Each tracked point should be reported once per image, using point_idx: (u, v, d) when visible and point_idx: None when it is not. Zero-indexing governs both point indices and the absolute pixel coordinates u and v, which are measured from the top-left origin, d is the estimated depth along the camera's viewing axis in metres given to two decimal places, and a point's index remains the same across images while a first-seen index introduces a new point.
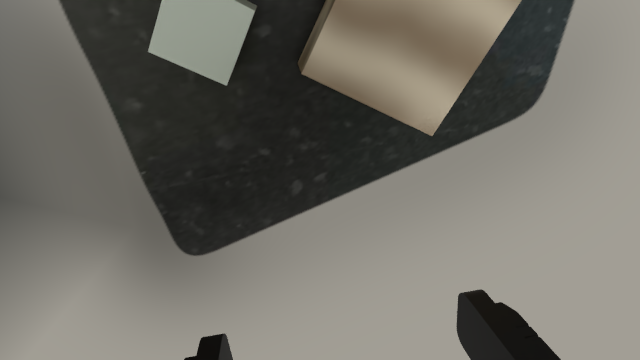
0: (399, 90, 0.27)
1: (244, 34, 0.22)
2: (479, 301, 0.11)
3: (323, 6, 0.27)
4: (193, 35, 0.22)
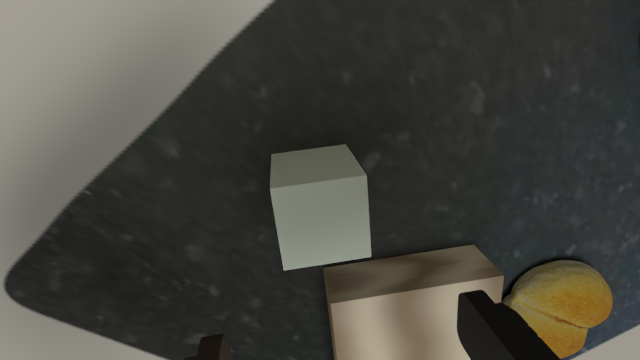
0: None
1: (344, 259, 0.20)
2: (479, 301, 0.11)
3: (383, 260, 0.27)
4: (314, 220, 0.19)
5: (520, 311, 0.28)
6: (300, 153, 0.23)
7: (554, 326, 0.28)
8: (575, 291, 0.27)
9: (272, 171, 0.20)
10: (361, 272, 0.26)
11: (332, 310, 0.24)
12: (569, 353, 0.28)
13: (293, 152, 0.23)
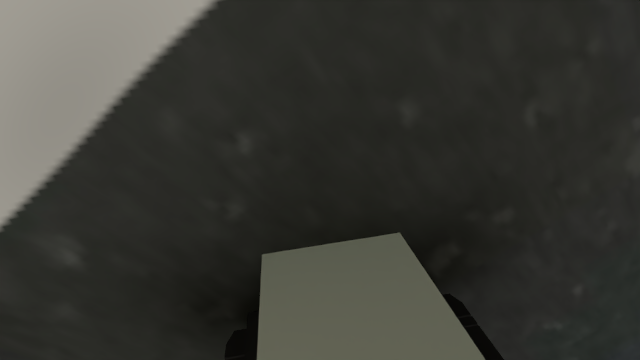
0: None
1: None
2: None
3: None
4: None
5: None
6: (317, 257, 0.12)
7: None
8: None
9: (262, 325, 0.09)
10: None
11: None
12: None
13: (303, 252, 0.12)
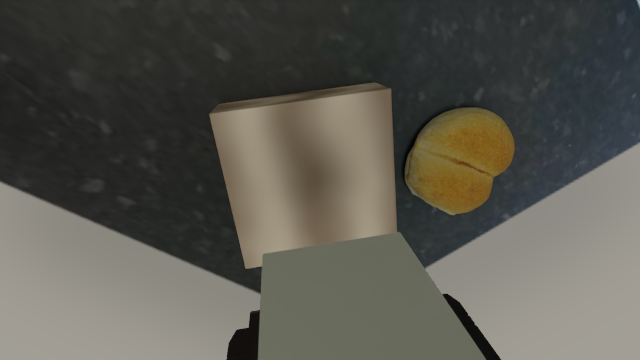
0: (261, 210, 0.26)
1: None
2: None
3: (280, 95, 0.26)
4: None
5: (420, 158, 0.28)
6: (318, 257, 0.12)
7: (453, 168, 0.27)
8: (470, 128, 0.26)
9: (263, 325, 0.09)
10: (253, 101, 0.25)
11: (212, 122, 0.23)
12: (471, 198, 0.28)
13: (304, 252, 0.12)
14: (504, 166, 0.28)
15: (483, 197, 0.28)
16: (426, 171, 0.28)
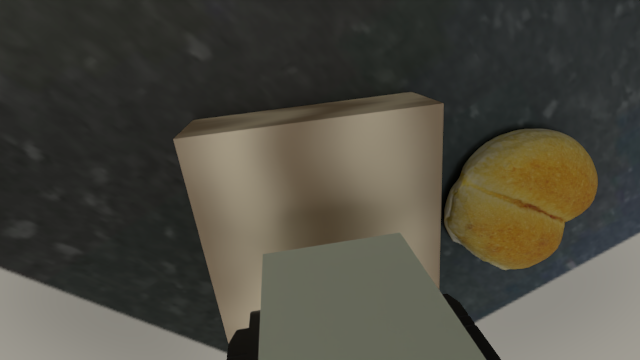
0: (251, 273, 0.18)
1: None
2: None
3: (280, 109, 0.19)
4: None
5: (469, 197, 0.20)
6: (318, 257, 0.12)
7: (516, 214, 0.20)
8: (544, 159, 0.19)
9: (263, 326, 0.09)
10: (242, 118, 0.18)
11: (178, 151, 0.15)
12: (538, 254, 0.20)
13: (304, 252, 0.12)
14: (584, 210, 0.20)
15: (553, 251, 0.21)
16: (479, 216, 0.20)
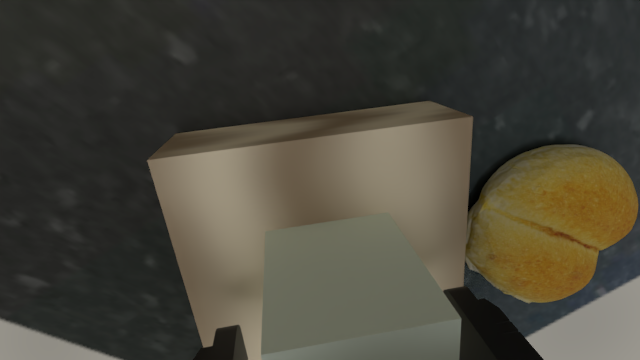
0: (243, 314, 0.15)
1: None
2: (462, 297, 0.11)
3: (278, 121, 0.16)
4: None
5: (491, 223, 0.18)
6: (314, 233, 0.13)
7: (546, 243, 0.17)
8: (580, 182, 0.16)
9: (266, 286, 0.11)
10: (232, 132, 0.15)
11: (154, 175, 0.13)
12: (570, 288, 0.18)
13: (302, 229, 0.14)
14: (622, 237, 0.18)
15: (586, 284, 0.18)
16: (502, 245, 0.17)
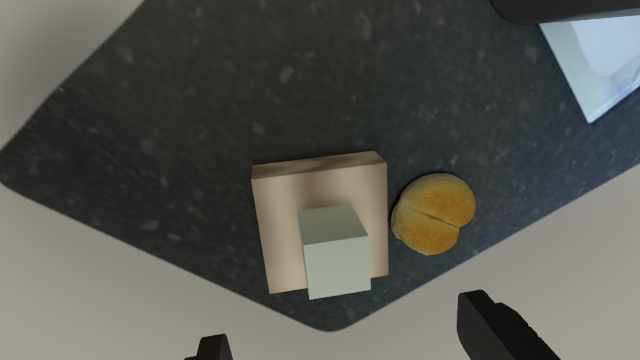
0: (284, 250, 0.33)
1: (352, 291, 0.28)
2: (479, 301, 0.11)
3: (301, 160, 0.34)
4: (332, 265, 0.27)
5: (403, 212, 0.36)
6: (318, 211, 0.31)
7: (428, 222, 0.35)
8: (441, 192, 0.35)
9: (301, 229, 0.29)
10: (281, 166, 0.33)
11: (252, 185, 0.30)
12: (441, 245, 0.36)
13: (313, 210, 0.32)
14: (467, 220, 0.36)
15: (451, 243, 0.37)
16: (407, 223, 0.36)
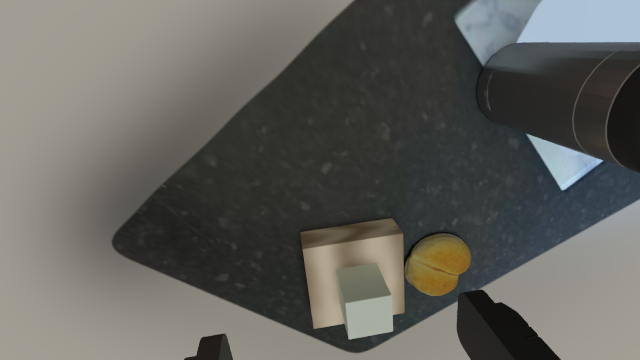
0: (326, 297, 0.44)
1: (379, 333, 0.39)
2: (479, 301, 0.11)
3: (336, 227, 0.45)
4: (365, 316, 0.38)
5: (413, 265, 0.46)
6: (352, 270, 0.42)
7: (433, 273, 0.46)
8: (443, 251, 0.45)
9: (341, 287, 0.39)
10: (322, 233, 0.44)
11: (303, 253, 0.41)
12: (444, 290, 0.46)
13: (348, 269, 0.42)
14: (464, 270, 0.46)
15: (451, 288, 0.47)
16: (417, 273, 0.46)
